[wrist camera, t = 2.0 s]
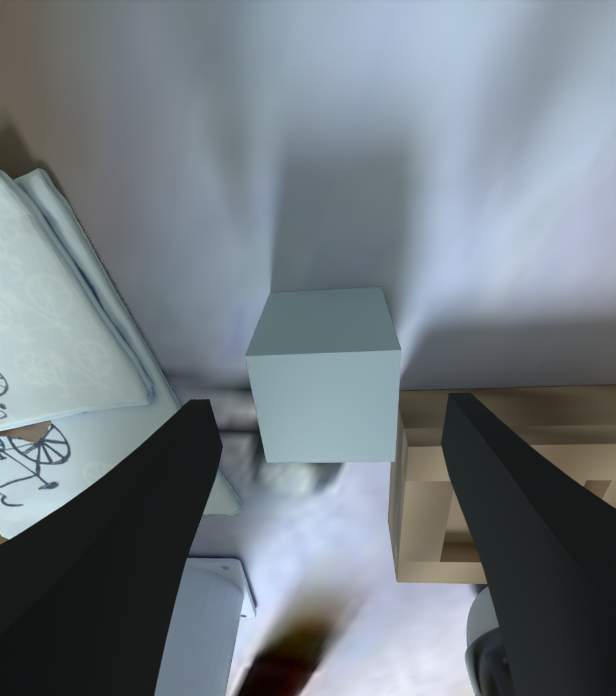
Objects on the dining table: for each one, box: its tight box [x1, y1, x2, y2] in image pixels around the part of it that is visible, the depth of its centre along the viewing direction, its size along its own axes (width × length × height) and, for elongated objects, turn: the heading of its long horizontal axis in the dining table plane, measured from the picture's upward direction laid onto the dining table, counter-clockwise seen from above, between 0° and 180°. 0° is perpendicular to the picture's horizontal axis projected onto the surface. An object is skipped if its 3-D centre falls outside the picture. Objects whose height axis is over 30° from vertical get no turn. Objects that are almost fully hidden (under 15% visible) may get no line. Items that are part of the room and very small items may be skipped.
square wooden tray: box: [388, 385, 616, 584], centre depth 17 cm, size 10×10×4 cm
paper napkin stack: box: [0, 168, 242, 539], centre depth 19 cm, size 19×20×2 cm
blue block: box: [245, 286, 401, 463], centre depth 13 cm, size 4×4×5 cm
